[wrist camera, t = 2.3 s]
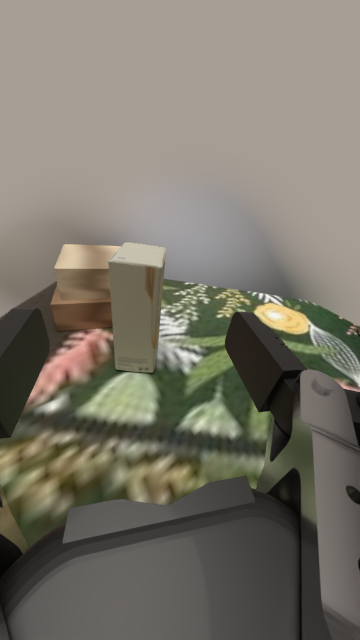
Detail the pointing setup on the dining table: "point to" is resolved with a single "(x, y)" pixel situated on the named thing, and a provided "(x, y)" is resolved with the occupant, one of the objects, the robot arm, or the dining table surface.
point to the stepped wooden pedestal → (83, 287)
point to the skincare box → (136, 304)
